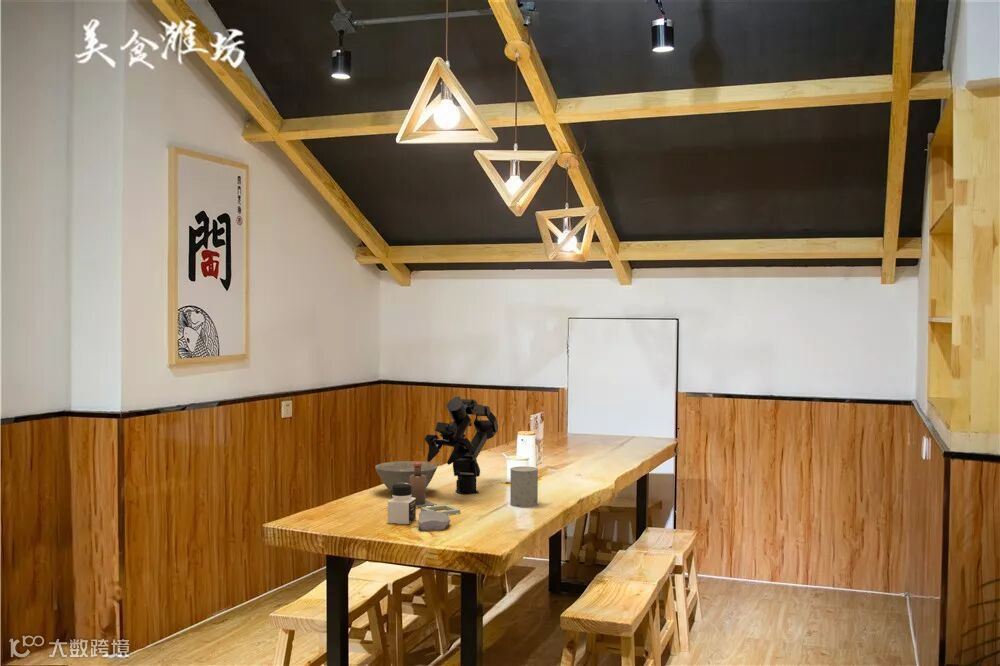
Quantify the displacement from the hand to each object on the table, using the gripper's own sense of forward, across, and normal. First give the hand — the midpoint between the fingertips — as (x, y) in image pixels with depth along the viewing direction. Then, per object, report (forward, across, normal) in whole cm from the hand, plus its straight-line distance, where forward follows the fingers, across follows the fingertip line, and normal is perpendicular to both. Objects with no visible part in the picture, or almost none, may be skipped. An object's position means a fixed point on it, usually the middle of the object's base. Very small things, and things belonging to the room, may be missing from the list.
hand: (437, 462), depth 314 cm
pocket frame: (+19, +12, +1) cm, 22 cm away
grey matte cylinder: (0, +27, +20) cm, 33 cm away
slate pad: (+16, -2, +4) cm, 16 cm away
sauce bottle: (+15, -2, +3) cm, 16 cm away
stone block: (+30, +23, -10) cm, 39 cm away
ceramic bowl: (+7, -19, +13) cm, 24 cm away
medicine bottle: (+31, +11, -11) cm, 35 cm away
